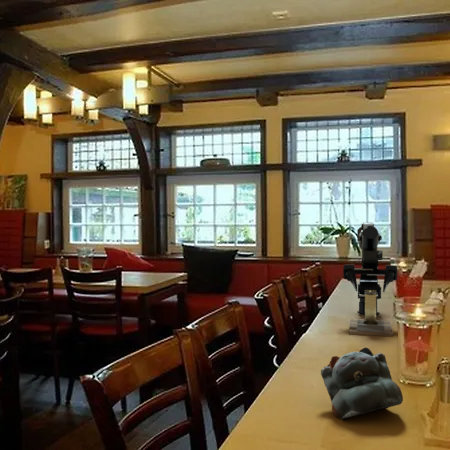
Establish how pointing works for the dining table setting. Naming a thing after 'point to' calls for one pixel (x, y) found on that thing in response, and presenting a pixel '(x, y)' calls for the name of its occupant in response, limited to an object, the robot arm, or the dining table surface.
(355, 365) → the lucky cat figurine
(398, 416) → the dining table surface
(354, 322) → the walnut eye plate
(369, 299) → the tan cylinder
